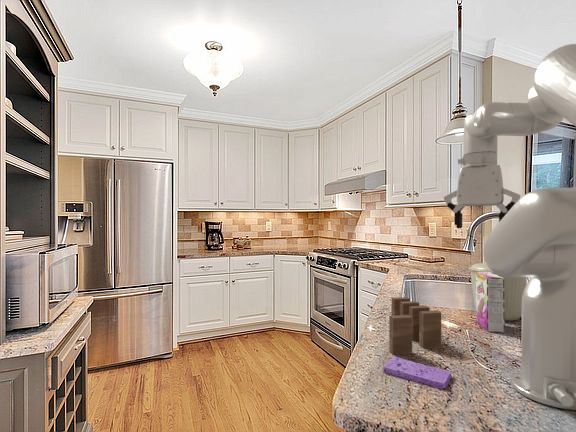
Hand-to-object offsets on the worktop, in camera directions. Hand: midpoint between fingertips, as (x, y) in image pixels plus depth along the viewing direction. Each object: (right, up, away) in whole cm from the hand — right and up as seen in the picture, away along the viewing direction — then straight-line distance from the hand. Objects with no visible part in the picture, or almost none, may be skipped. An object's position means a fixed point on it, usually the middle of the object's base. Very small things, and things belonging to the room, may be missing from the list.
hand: (479, 228), depth 90 cm
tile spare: (-21, -31, -3) cm, 37 cm away
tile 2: (-12, -31, +2) cm, 33 cm away
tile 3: (-13, -31, +7) cm, 34 cm away
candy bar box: (+13, -32, +19) cm, 39 cm away
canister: (+23, -32, +31) cm, 50 cm away
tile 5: (-14, -31, +18) cm, 39 cm away
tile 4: (-14, -31, +13) cm, 36 cm away
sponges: (-22, -31, -15) cm, 41 cm away
